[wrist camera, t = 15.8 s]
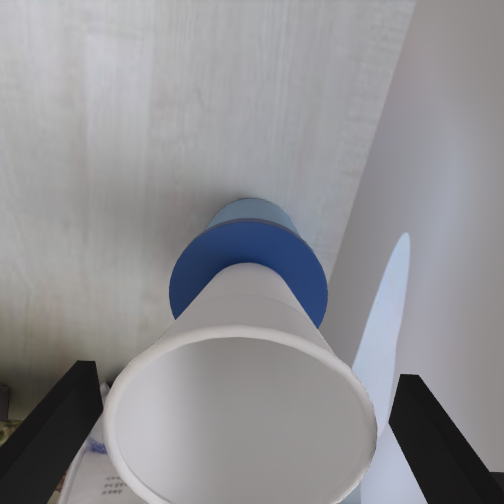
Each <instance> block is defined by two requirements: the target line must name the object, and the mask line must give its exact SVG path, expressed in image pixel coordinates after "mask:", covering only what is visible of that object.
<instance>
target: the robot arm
mask: <svg viewBox="0 0 504 504" xmlns="http://www.w3.org/2000/svg"><path fill="white" fill-rule="evenodd" d="M103 410H104V407H103V402H102V396H101V391H100V385H99V380H98V374H97V369H96V363H95V361H80V360H77V362H76V363H75V364H74V365H73V366H72V367H71V368H70V369H69V371H68V372H67V373H66V374H65V375H64V376H63V377H62V378H61V380H60V381H59V382H58V383H57V384H56V385H55V386H54V387H53V388H52V390H51V391H50V392H49V393H48V394H47V395H46V396H45V397H44V399H43V400H42V401H41V402H40V403H39V404H38V405H37V406H36V408H35V409H34V410H33V411H32V412H31V413H30V414H29V415H28V417H27V418H26V419H25V420H24V421H23V422H22V423H21V424H20V425H19V427H18V428H17V429H16V430H15V431H14V432H13V433H12V434H11V436H10V437H9V438H8V439H7V440H6V441H5V442H4V443H3V445H2V446H1V447H0V504H47V502H48V500H49V499H50V497H51V496H52V494H53V492H54V491H55V489H56V487H57V486H58V484H59V482H60V481H61V479H62V478H63V476H64V474H65V473H66V471H67V469H68V468H69V466H70V465H71V463H72V461H73V460H74V458H75V456H76V455H77V453H78V451H79V450H80V448H81V447H82V445H83V443H84V442H85V440H86V438H87V437H88V435H89V434H90V432H91V430H92V429H93V427H94V425H95V424H96V422H97V420H98V419H99V417H100V416H101V414H102V412H103ZM389 425H390V427H391V429H392V431H393V433H394V435H395V437H396V439H397V441H398V443H399V445H400V447H401V449H402V452H403V454H404V456H405V458H406V460H407V462H408V464H409V466H410V468H411V470H412V472H413V474H414V476H415V478H416V480H417V482H418V484H419V487H420V489H421V490H422V493H423V494H424V497H425V499H426V501H427V503H428V504H504V473H503V472H489V470H488V469H487V468H486V466H485V465H484V464H483V462H482V461H481V460H480V458H479V457H478V455H477V454H476V453H475V451H474V450H473V449H472V447H471V446H470V444H469V443H468V442H467V441H466V439H465V438H464V436H463V435H462V433H461V432H460V431H459V429H458V428H457V427H456V425H455V424H454V423H453V421H452V420H451V419H450V417H449V416H448V414H447V413H446V412H445V410H444V409H443V408H442V406H441V405H440V403H439V402H438V401H437V399H436V398H435V397H434V395H433V394H432V392H431V391H430V390H429V388H428V387H427V386H426V384H425V383H424V382H423V380H422V379H421V377H420V376H419V375H412V374H400V378H399V382H398V386H397V390H396V394H395V398H394V402H393V406H392V411H391V414H390V418H389Z"/></svg>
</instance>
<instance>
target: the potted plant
mask: <svg viewBox="0 0 504 504" xmlns="http://www.w3.org/2000/svg"><path fill="white" fill-rule="evenodd" d="M100 391H101V396H102V402H103V407H104V406H105V401H106V397H107V395H108V393H109V391H110V387H109V386H108V385H107V383H106V382H103V383H101V385H100ZM102 415H103V412H102V414H101V416H100V417H99V419H98V420H97V422H96V424H95V425H94V427H93V429H92V430H91V432H90V434H89V435H88V437H87V438H86V440H85V442H84V443H83V445H82V447H81V448H80V450H79V451H78V453H77V455H76V456H75V458H74V460H73V461H72V463H71V465H70V466H69V468H68V469H67V471H66V473H65V474H64V476H63V478H62V479H61V481H60V482H59V484H58V486H57V487H56V489H55V491H58V492H60V495H59V498H58V500H57V503H56V504H149V503H147V502H146V501H145V500H143V499H142V498H141V497H139V496H138V495H137V494H135V493H134V492H133V491H132V490H131V489H130V487H129V486H128V485H127V484H126V483H125V482H124V481H123V480H122V479H121V478H120V476H119V475H118V473H117V471H116V470H115V468H114V467H113V465H112V463H111V462H110V460H109V457H108V454H107V451H106V448H105V445H104V442H103V433H102ZM22 422H23V421H21V420H8V421H5V422H0V447H1V446H2V445H3V443H4V442H5V441H6V440H7V439H8V438H9V437H10V436H11V434H12V433H13V432H14V431H15V430H16V429H17V428H18V427H19V425H20V424H21V423H22Z"/></svg>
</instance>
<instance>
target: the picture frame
mask: <svg viewBox="0 0 504 504" xmlns="http://www.w3.org/2000/svg"><path fill="white" fill-rule="evenodd" d="M9 390H10V387H7V386H3V385H0V422H5V421H7V416H8V403H9Z"/></svg>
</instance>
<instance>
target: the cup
mask: <svg viewBox="0 0 504 504" xmlns="http://www.w3.org/2000/svg"><path fill="white" fill-rule="evenodd" d="M102 433H103V442H104V445H105V448H106V451H107V454H108V457H109V460H110V462H111V463H112V465H113V467H114V468H115V470H116V471H117V473H118V475H119V476H120V478H121V479H122V480H123V481H124V482H125V483H126V484H127V485H128V486H129V487H130V489H131V490H132V491H133V492H134V493H135V494H137V495H138V496H139V497H141V498H142V499H143V500H145V501H146V502H147V503H149V504H337V503H339V502H340V501H342V500H343V499H344V498H345V497H346V496H347V495H348V494H349V493H350V492H351V491H352V490H353V489H354V488H355V487H356V486H357V485H358V484H359V482H360V481H361V479H362V478H363V476H364V475H365V473H366V472H367V470H368V469H369V466H370V463H371V461H372V458H373V455H374V452H375V450H376V440H377V422H376V417H375V412H374V407H373V404H372V402H371V400H370V398H369V396H368V394H367V391H366V389H365V387H364V385H363V384H362V382H361V381H360V380H359V379H358V378H357V376H356V375H355V374H354V373H353V372H352V370H351V369H350V368H349V367H348V366H347V365H346V364H345V363H344V362H342V361H341V360H340V359H339V358H337V357H336V355H335V354H334V352H333V351H332V350H331V348H330V347H329V345H328V344H327V342H326V341H325V339H324V338H323V337H322V335H321V334H320V332H319V331H318V330H317V328H316V326H315V325H314V324H313V322H312V321H311V320H310V318H309V316H308V315H307V313H306V312H305V311H304V309H303V308H302V306H301V305H300V303H299V302H298V300H297V299H296V297H295V296H294V294H293V293H292V291H291V290H290V288H289V287H288V285H287V284H286V282H285V281H284V280H283V279H282V277H281V276H280V275H279V274H277V273H276V272H275V271H274V270H272V269H270V268H268V267H266V266H264V265H260V264H257V263H238V264H234V265H231V266H229V267H227V268H225V269H223V270H221V271H220V272H219V273H217V274H216V275H215V277H214V278H213V279H212V280H211V281H210V282H209V283H208V284H207V286H206V287H205V288H204V289H203V290H202V291H201V292H200V294H199V295H198V296H197V297H196V298H195V299H194V300H193V301H192V303H191V304H190V305H189V306H188V307H187V308H186V309H185V310H184V312H183V313H182V314H181V315H180V316H179V317H178V318H177V319H176V320H175V322H174V323H173V324H172V325H171V326H170V327H169V328H168V329H167V331H166V332H165V333H164V334H163V335H162V336H161V337H160V338H159V340H158V341H157V342H156V343H154V344H153V345H151V346H150V347H149V348H147V349H146V350H144V351H143V352H142V353H140V354H139V355H138V356H136V357H135V358H133V359H132V360H131V361H130V363H129V364H128V365H127V366H126V367H125V368H124V369H123V371H122V372H121V373H120V374H119V375H118V376H117V377H116V379H115V381H114V383H113V385H112V387H111V389H110V391H109V393H108V395H107V397H106V401H105V406H104V410H103V415H102Z"/></svg>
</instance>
